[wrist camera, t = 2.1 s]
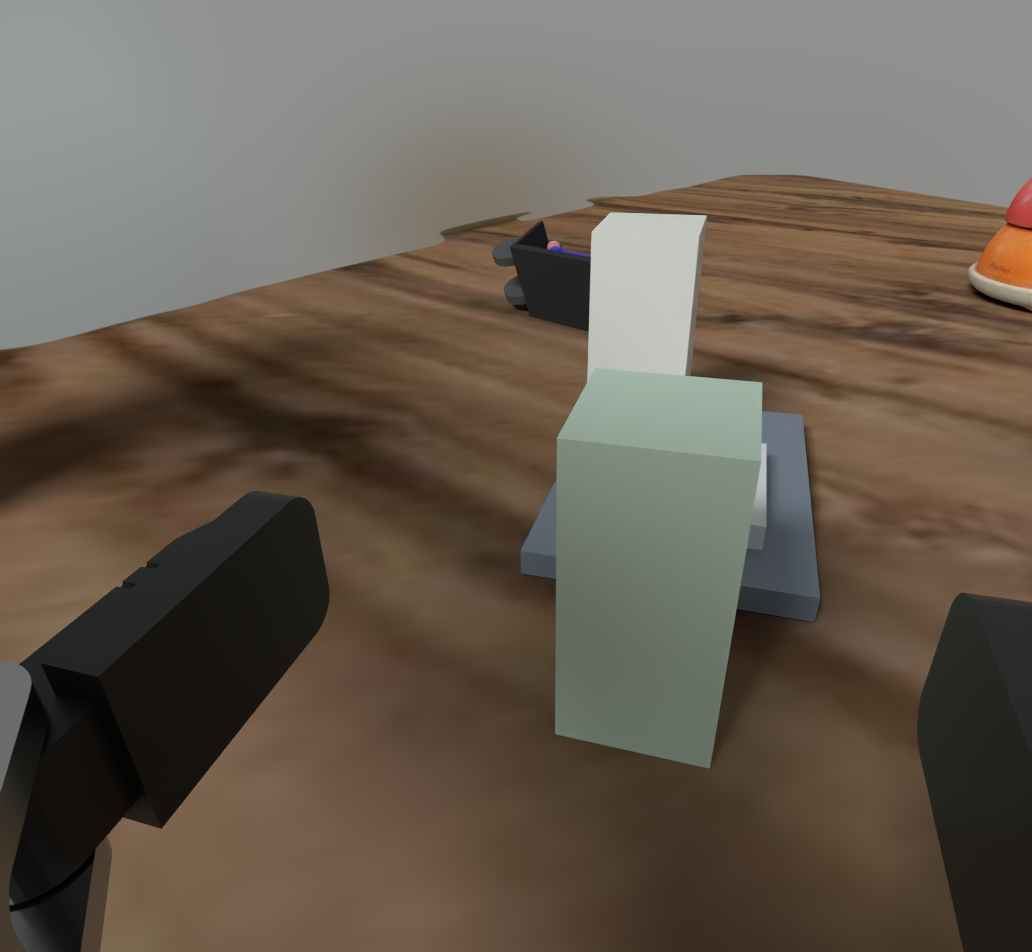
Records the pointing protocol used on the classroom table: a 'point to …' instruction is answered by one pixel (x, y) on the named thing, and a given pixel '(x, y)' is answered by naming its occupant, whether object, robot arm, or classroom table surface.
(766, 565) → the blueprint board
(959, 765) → the robot arm
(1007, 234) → the stacking toy
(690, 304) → the standing pillar
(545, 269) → the character figurine
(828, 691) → the classroom table surface
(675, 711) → the sage pillar
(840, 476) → the classroom table surface
